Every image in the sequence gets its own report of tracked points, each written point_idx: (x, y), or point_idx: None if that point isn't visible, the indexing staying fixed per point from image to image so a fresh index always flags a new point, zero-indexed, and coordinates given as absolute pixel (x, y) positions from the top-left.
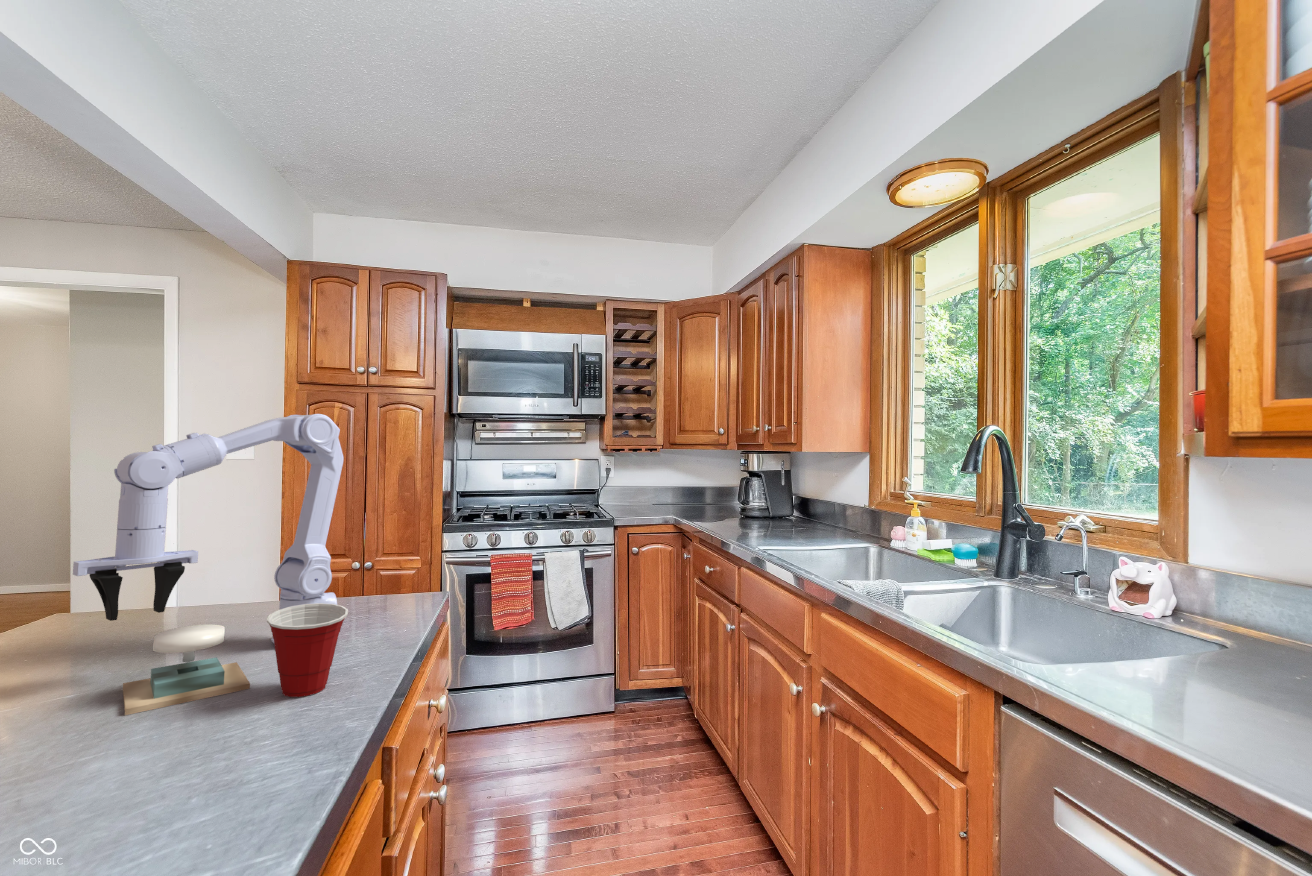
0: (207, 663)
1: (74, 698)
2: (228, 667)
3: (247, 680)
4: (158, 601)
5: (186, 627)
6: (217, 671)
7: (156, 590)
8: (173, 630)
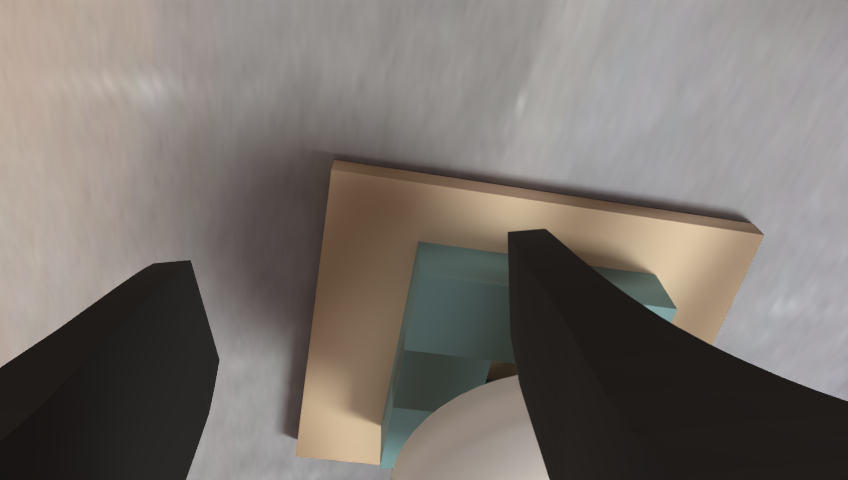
0: None
1: (165, 140)
2: (700, 282)
3: None
4: (531, 367)
5: None
6: None
7: (563, 355)
8: (509, 466)
